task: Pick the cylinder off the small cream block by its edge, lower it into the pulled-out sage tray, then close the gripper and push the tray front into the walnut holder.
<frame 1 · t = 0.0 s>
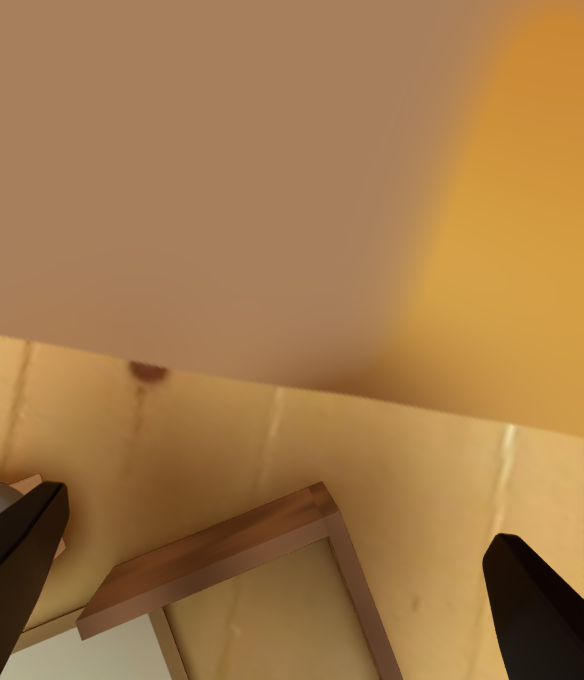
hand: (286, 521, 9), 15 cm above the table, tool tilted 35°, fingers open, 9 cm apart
block: (13, 526, 23), on the table
holder: (246, 654, 23), on the table
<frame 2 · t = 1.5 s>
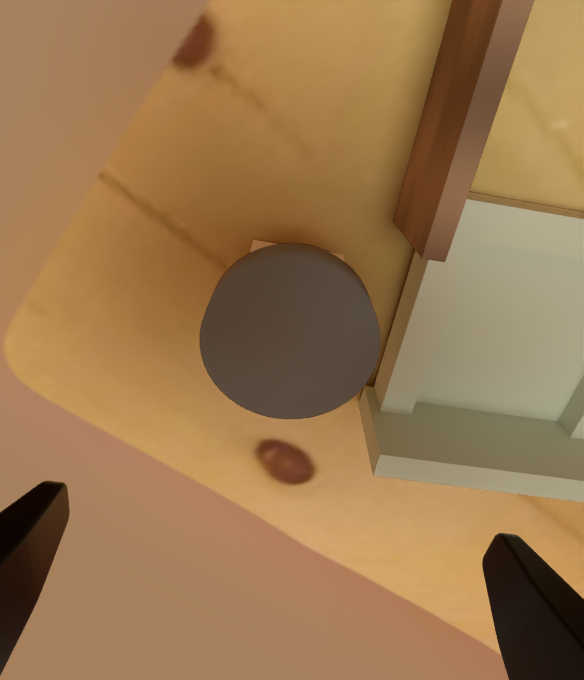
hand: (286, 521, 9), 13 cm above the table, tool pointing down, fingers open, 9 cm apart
cylinder: (290, 322, 18), point 3 cm above the table, touching block
tray: (534, 354, 19), point 3 cm above the table, slide at 8.0 cm
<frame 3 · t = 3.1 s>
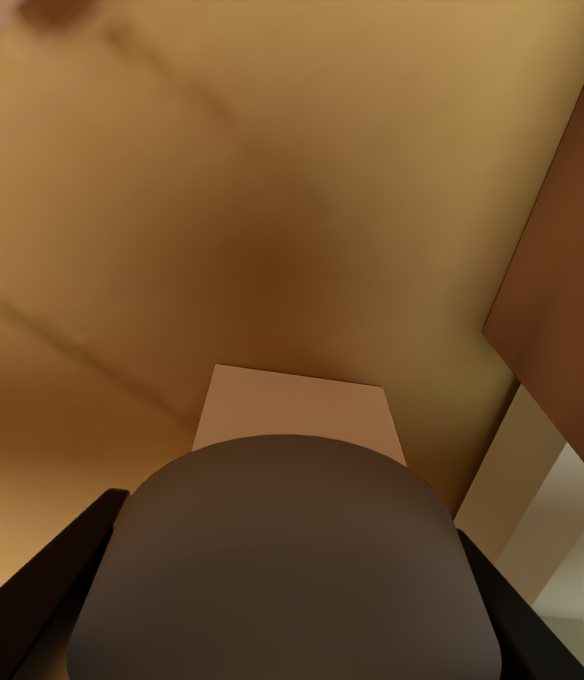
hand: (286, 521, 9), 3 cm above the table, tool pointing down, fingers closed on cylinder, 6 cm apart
block: (287, 440, 12), on the table
cylinder: (285, 565, 9), point 4 cm above the table, touching block, gripper
when the fingers open (3 cm above the table, at t = 6.2 s): cylinder drops 3 cm, resting on tray.
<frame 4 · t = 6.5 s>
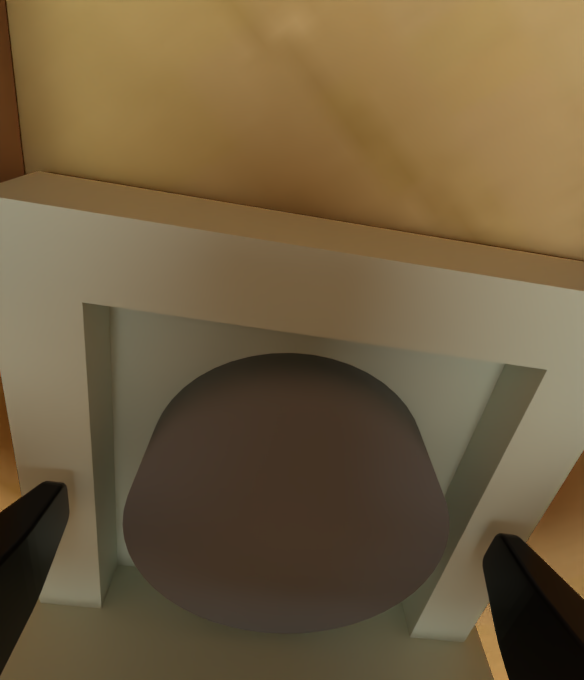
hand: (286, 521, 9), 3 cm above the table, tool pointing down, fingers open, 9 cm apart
cylinder: (287, 468, 11), point 1 cm above the table, touching tray
holder: (368, 36, 8), on the table
tray: (286, 525, 9), point 3 cm above the table, slide at 8.0 cm, touching cylinder
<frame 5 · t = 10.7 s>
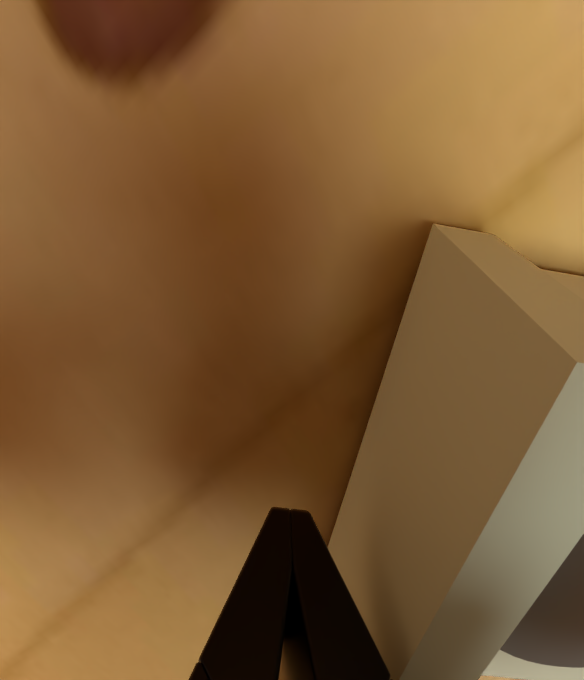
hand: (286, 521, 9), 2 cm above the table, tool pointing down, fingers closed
cylinder: (574, 509, 11), point 1 cm above the table, touching tray
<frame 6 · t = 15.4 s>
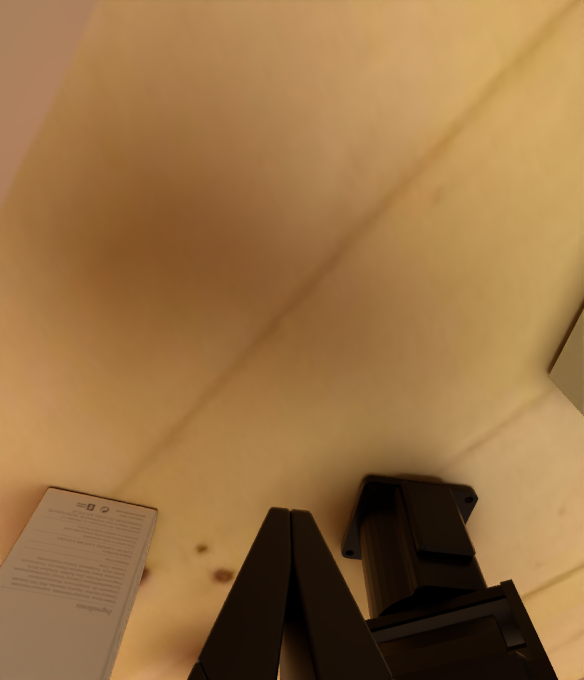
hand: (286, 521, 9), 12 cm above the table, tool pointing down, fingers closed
small box: (98, 537, 28), on the table
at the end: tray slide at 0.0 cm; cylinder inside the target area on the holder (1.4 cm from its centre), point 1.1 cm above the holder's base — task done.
